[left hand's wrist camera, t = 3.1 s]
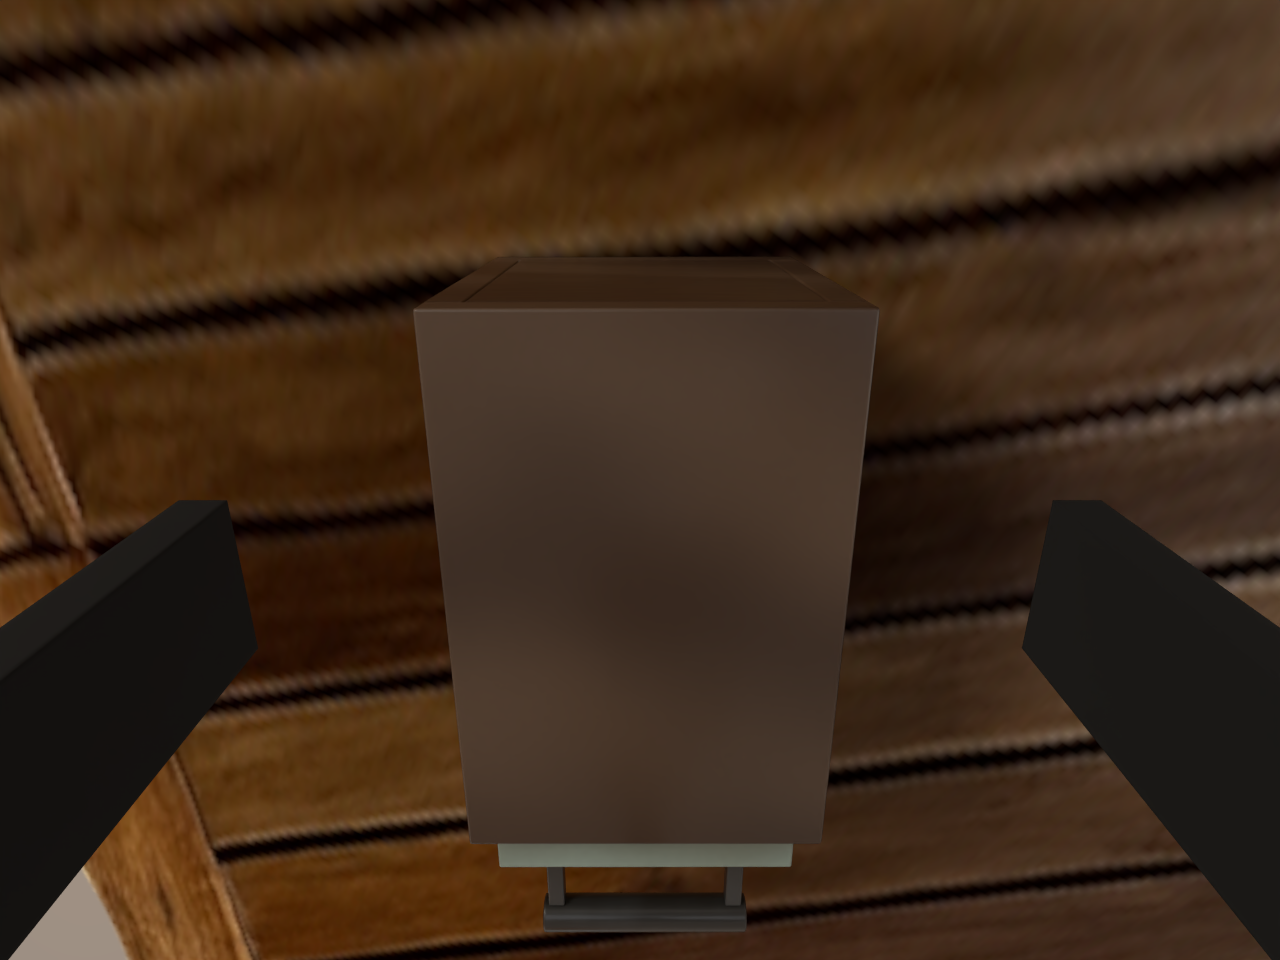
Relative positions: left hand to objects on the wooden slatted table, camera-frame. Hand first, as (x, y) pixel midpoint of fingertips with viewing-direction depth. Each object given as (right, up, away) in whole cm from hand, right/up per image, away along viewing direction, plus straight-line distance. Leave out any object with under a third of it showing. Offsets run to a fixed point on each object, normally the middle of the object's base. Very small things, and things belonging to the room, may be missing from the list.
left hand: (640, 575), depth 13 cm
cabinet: (0, +2, +18) cm, 19 cm away
